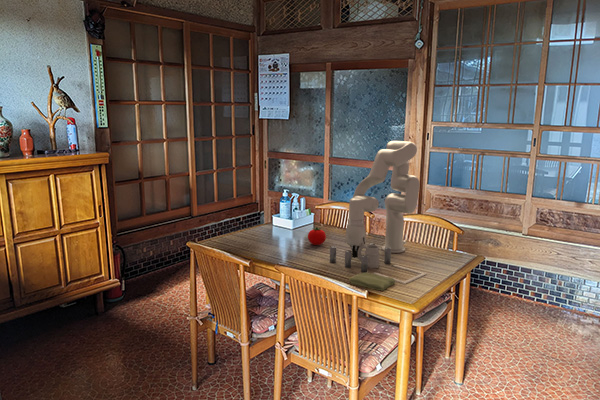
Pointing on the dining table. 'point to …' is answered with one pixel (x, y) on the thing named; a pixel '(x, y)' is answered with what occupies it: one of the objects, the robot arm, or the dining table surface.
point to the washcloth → (372, 281)
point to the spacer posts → (363, 258)
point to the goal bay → (408, 270)
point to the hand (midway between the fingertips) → (355, 257)
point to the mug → (370, 255)
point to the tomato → (316, 236)
